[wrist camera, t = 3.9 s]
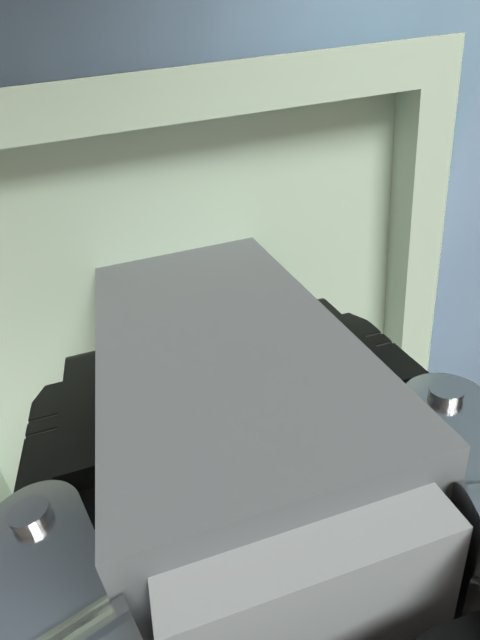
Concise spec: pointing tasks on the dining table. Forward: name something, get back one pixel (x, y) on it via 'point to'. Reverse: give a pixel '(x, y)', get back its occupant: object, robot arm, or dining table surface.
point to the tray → (223, 191)
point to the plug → (263, 461)
